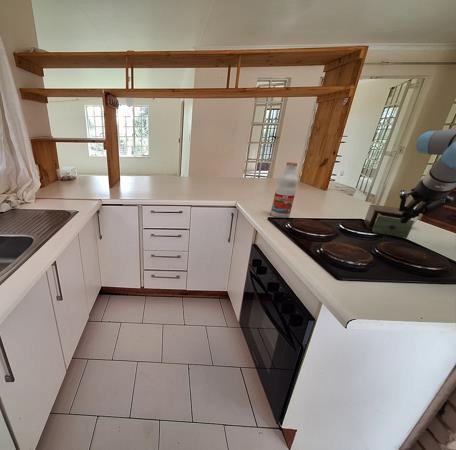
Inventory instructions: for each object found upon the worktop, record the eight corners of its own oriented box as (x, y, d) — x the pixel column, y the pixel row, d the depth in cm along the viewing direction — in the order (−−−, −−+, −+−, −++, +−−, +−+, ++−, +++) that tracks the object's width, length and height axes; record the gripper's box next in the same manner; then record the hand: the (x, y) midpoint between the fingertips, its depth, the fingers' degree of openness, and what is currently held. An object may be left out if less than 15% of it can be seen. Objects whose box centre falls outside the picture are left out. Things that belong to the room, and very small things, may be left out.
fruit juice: (289, 214, 130) (301, 162, 120) (289, 219, 122) (303, 164, 112) (270, 212, 134) (281, 161, 124) (269, 216, 126) (281, 162, 116)
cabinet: (403, 235, 106) (412, 215, 103) (367, 229, 113) (374, 210, 109) (396, 227, 117) (403, 208, 114) (363, 221, 124) (370, 204, 121)
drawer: (407, 239, 99) (415, 221, 97) (372, 232, 105) (378, 216, 103) (399, 229, 111) (405, 214, 108) (368, 224, 117) (373, 209, 114)
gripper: (408, 189, 76) (380, 224, 94) (469, 195, 69) (426, 232, 88) (410, 171, 78) (382, 209, 97) (470, 175, 71) (427, 215, 90)
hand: (403, 220), depth 92 cm, fingers closed
